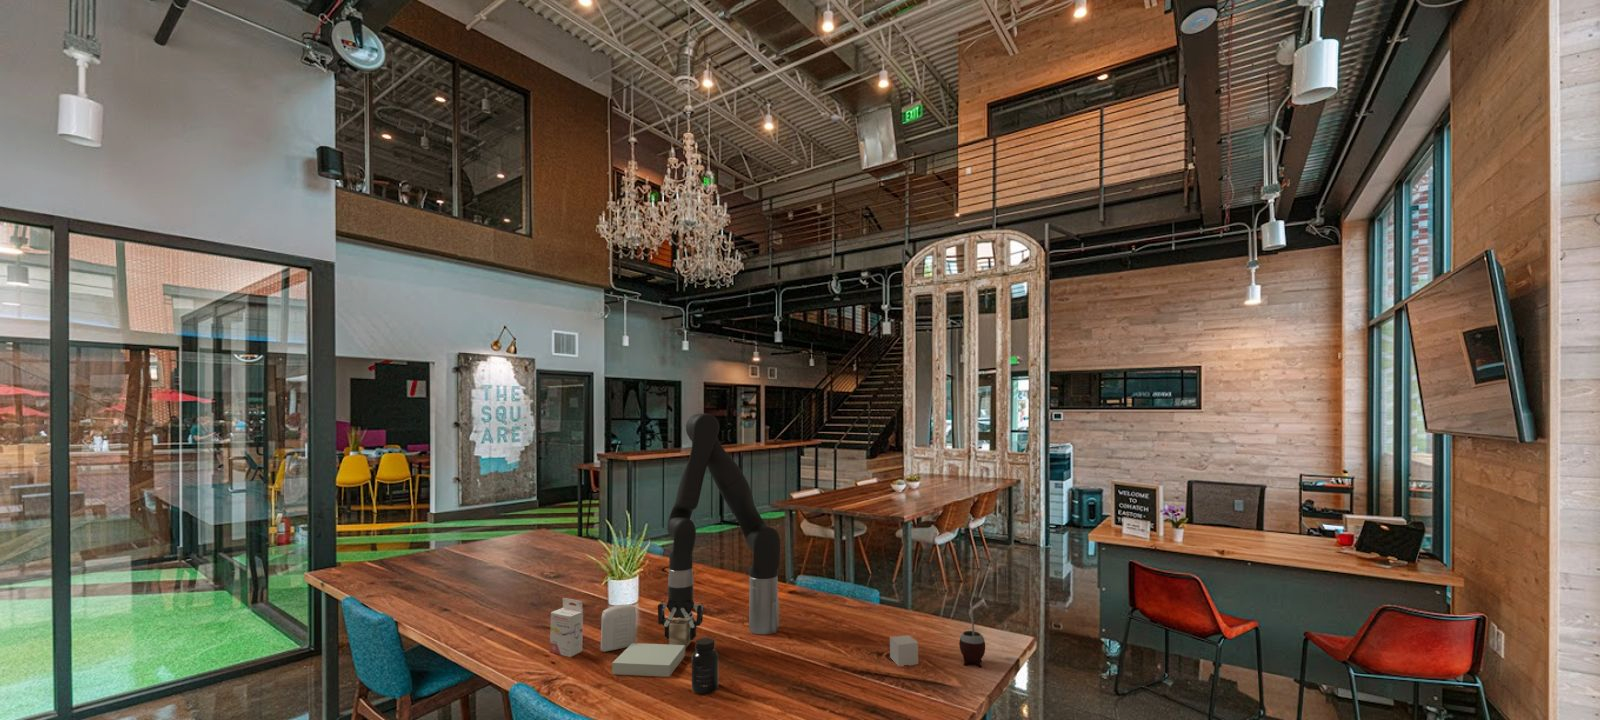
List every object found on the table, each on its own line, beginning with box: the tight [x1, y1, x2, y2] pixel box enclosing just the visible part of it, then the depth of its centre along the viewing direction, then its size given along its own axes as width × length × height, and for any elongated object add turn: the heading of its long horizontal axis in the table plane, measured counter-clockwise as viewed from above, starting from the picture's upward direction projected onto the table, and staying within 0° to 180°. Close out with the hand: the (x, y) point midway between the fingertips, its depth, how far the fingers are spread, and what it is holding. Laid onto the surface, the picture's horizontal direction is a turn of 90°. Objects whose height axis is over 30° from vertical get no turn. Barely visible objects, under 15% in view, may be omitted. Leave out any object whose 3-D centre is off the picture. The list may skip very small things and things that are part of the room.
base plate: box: [611, 642, 686, 678], centre depth 174 cm, size 16×14×3 cm
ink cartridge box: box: [549, 597, 584, 658], centre depth 183 cm, size 9×5×15 cm, turn 65°
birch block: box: [668, 617, 692, 650], centre depth 188 cm, size 5×6×7 cm
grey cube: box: [889, 634, 919, 667], centre depth 175 cm, size 6×6×6 cm
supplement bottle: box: [691, 637, 719, 695], centre depth 159 cm, size 7×7×12 cm
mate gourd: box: [958, 602, 986, 669], centre depth 174 cm, size 8×8×15 cm
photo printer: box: [600, 603, 637, 653], centre depth 187 cm, size 10×4×12 cm, turn 123°
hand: (680, 638), depth 188 cm, fingers open, 7 cm apart
